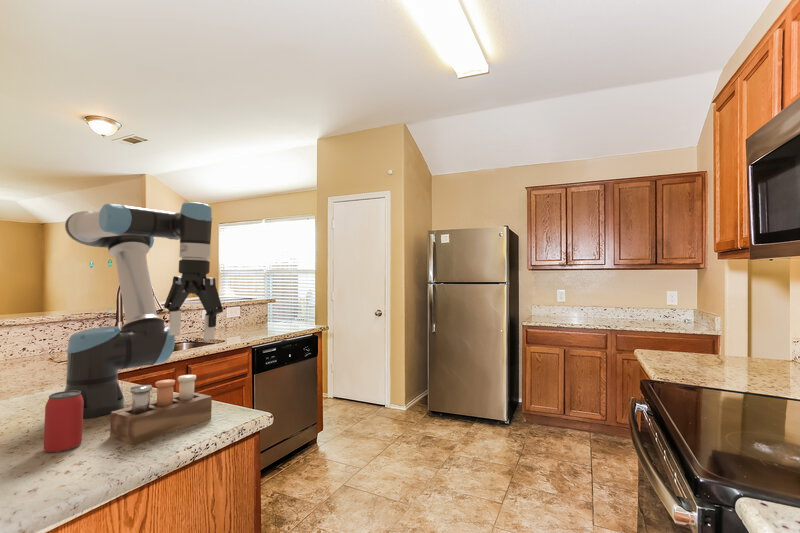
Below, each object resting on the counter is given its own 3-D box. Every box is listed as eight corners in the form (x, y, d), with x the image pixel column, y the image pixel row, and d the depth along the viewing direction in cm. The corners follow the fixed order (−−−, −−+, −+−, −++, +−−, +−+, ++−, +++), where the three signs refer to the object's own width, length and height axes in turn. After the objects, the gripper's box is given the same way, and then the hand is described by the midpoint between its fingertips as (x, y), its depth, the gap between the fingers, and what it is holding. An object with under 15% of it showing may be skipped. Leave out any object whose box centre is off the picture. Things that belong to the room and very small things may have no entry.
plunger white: (173, 402, 105) (174, 377, 105) (188, 398, 109) (189, 374, 109) (183, 405, 103) (184, 379, 103) (199, 400, 107) (199, 375, 107)
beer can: (59, 455, 84) (61, 399, 84) (35, 452, 85) (37, 396, 86) (89, 442, 90) (91, 390, 91) (66, 440, 92) (68, 388, 92)
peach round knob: (150, 409, 100) (151, 382, 100) (167, 404, 104) (168, 378, 104) (161, 412, 98) (162, 384, 98) (178, 407, 102) (179, 380, 102)
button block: (109, 437, 94) (110, 412, 94) (187, 412, 112) (188, 391, 112) (134, 445, 89) (135, 419, 89) (211, 418, 107) (211, 396, 107)
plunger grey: (125, 416, 94) (126, 388, 94) (144, 411, 98) (145, 384, 98) (136, 419, 92) (137, 390, 93) (155, 414, 96) (156, 386, 96)
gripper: (151, 258, 109) (148, 334, 108) (215, 259, 99) (212, 343, 98) (176, 259, 116) (173, 331, 115) (239, 260, 105) (235, 339, 105)
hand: (191, 337), depth 107 cm, fingers open, 13 cm apart
